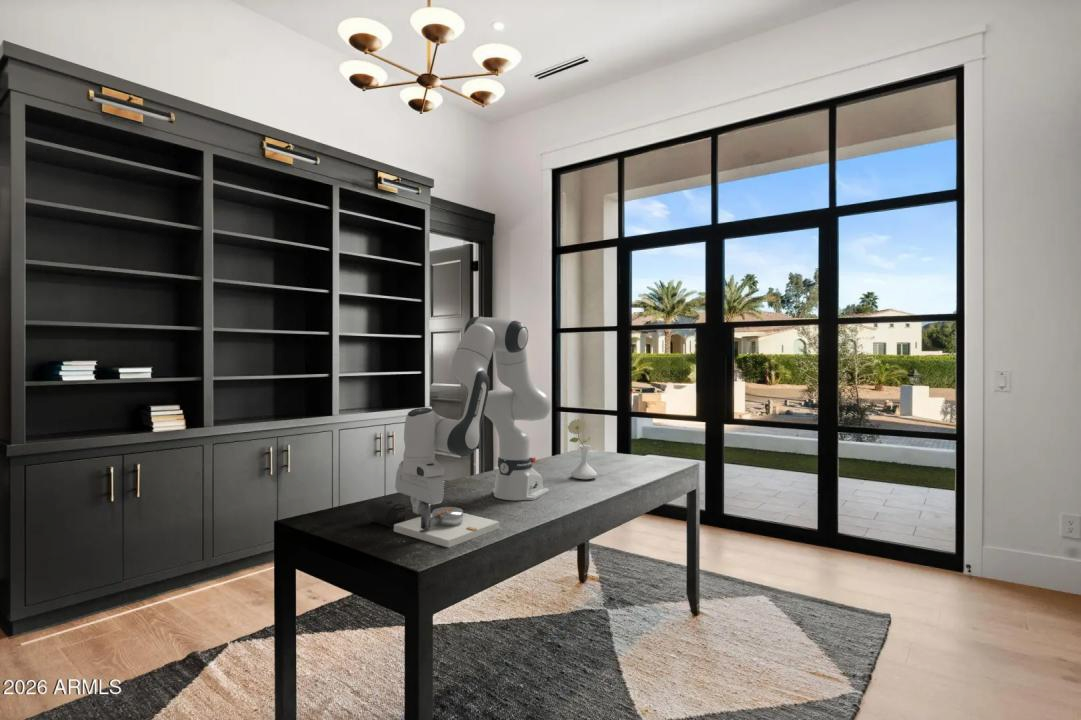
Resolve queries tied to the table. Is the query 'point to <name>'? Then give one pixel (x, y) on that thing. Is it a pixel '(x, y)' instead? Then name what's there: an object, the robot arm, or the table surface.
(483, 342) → the robot arm
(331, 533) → the table surface
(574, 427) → the flower in vase
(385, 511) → the end cap
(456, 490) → the table surface
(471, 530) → the panel
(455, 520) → the silver metal piece
